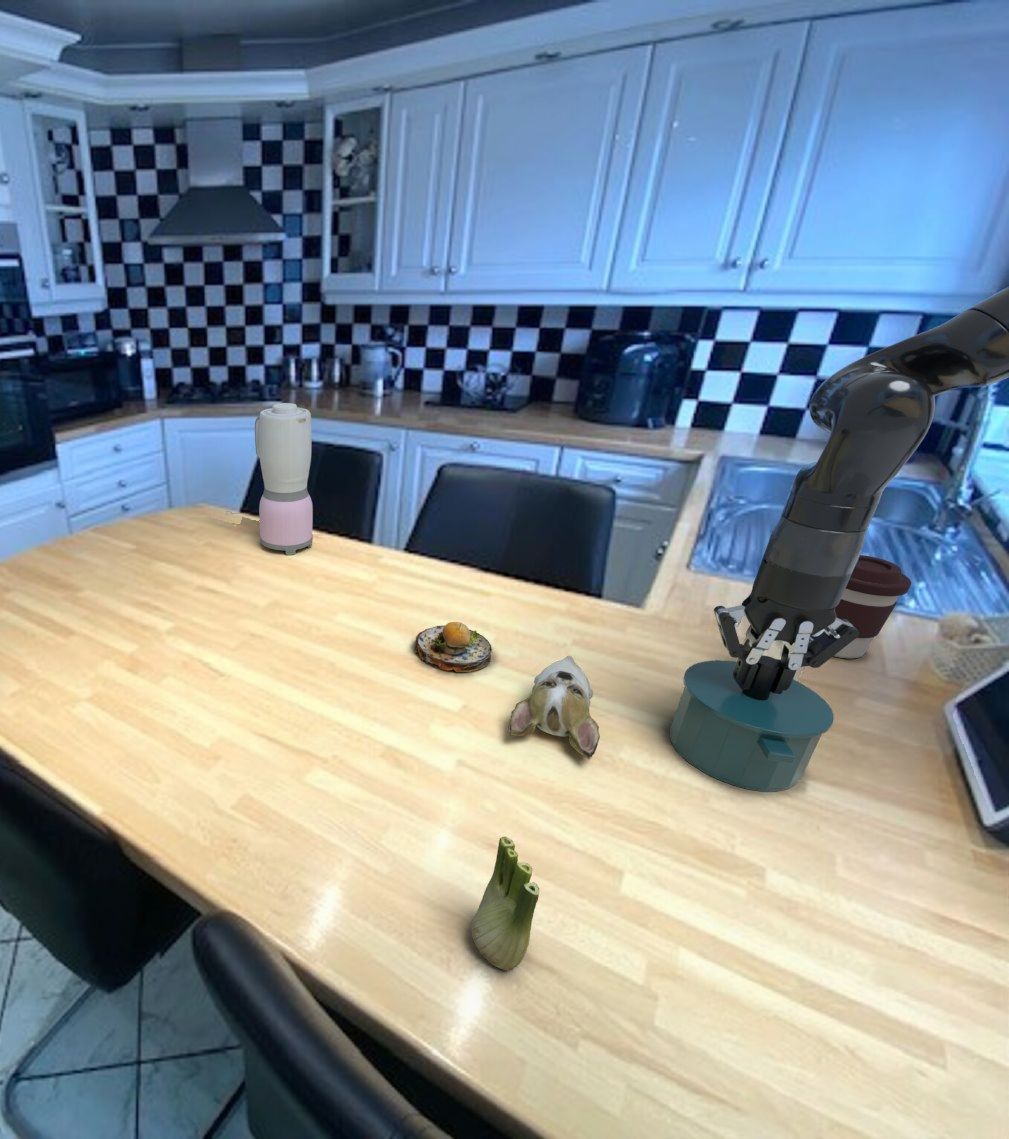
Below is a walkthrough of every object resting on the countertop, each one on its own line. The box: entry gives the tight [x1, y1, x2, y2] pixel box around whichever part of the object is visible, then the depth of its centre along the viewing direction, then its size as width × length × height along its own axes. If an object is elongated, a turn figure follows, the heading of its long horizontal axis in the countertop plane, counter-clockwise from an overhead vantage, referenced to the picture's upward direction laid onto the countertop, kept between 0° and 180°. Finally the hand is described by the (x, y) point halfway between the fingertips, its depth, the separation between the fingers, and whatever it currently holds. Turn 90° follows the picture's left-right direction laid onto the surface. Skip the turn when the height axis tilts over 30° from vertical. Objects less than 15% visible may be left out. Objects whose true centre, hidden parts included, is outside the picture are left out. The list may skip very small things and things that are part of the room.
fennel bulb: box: [470, 836, 540, 972], centre depth 55 cm, size 6×5×12 cm
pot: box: [669, 686, 823, 793], centre depth 78 cm, size 14×19×8 cm
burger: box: [414, 621, 493, 673], centre depth 101 cm, size 12×12×8 cm
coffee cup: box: [833, 554, 912, 659], centre depth 97 cm, size 10×10×15 cm
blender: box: [254, 402, 314, 556], centre depth 139 cm, size 16×12×32 cm
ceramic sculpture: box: [508, 655, 601, 760], centre depth 84 cm, size 11×9×15 cm
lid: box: [682, 655, 835, 738], centre depth 75 cm, size 15×15×6 cm
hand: (757, 687), depth 75 cm, fingers closed on lid, 2 cm apart
